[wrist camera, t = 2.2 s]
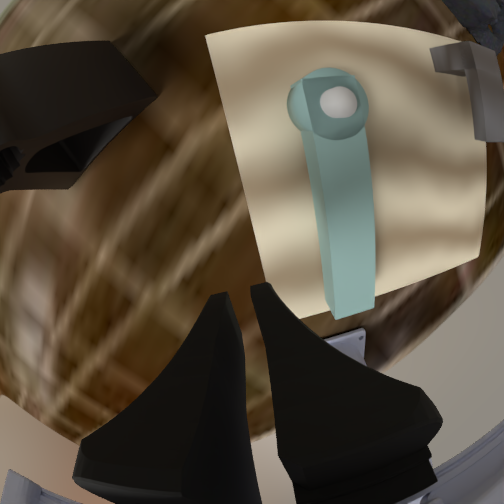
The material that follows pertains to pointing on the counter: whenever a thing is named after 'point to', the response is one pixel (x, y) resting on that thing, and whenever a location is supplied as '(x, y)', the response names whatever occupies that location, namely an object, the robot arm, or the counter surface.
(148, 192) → the counter surface
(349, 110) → the link
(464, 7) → the dark grey cloth
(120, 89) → the phone stand
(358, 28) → the keeper board
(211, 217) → the counter surface
